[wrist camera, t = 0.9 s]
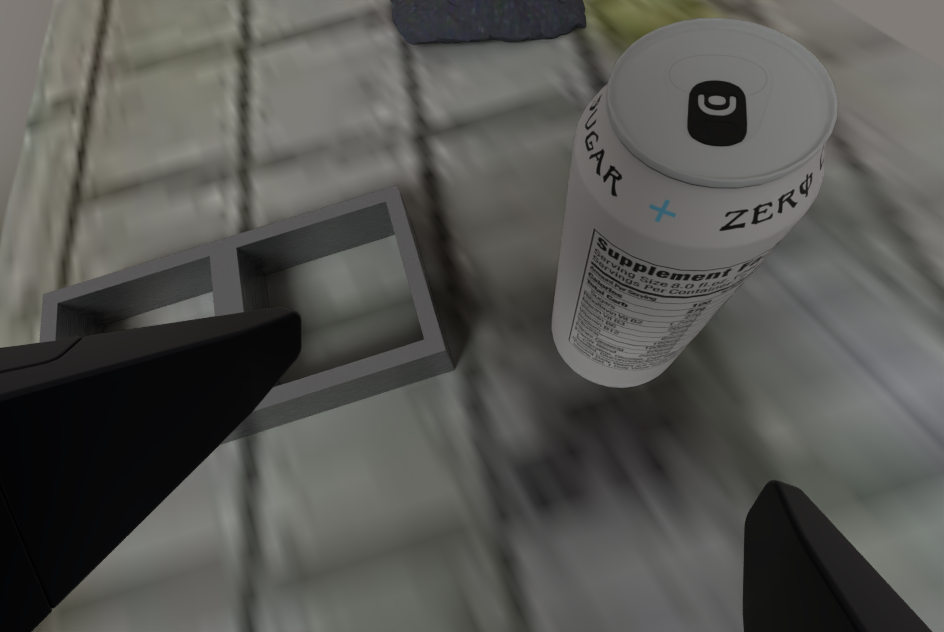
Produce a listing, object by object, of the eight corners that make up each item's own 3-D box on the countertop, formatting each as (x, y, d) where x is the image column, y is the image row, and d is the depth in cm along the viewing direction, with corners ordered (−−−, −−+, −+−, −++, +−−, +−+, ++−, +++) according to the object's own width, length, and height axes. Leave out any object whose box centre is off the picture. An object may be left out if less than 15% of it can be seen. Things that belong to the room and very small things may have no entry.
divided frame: (454, 369, 25) (445, 349, 22) (85, 487, 24) (29, 482, 22) (409, 217, 29) (397, 184, 26) (90, 316, 28) (43, 294, 25)
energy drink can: (677, 287, 25) (855, 3, 12) (672, 402, 23) (886, 221, 9) (558, 273, 26) (593, -4, 13) (543, 382, 24) (564, 191, 10)
